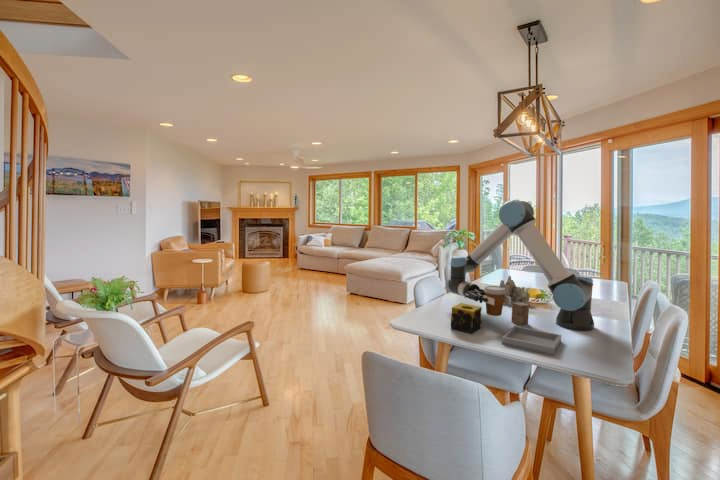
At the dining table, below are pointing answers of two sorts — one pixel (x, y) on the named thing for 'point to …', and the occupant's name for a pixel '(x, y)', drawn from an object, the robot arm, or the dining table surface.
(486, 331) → the dining table surface
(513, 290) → the grey jagged rock
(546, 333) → the slate tray
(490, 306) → the disposable coffee cup
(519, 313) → the walnut block
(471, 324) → the tissue box
